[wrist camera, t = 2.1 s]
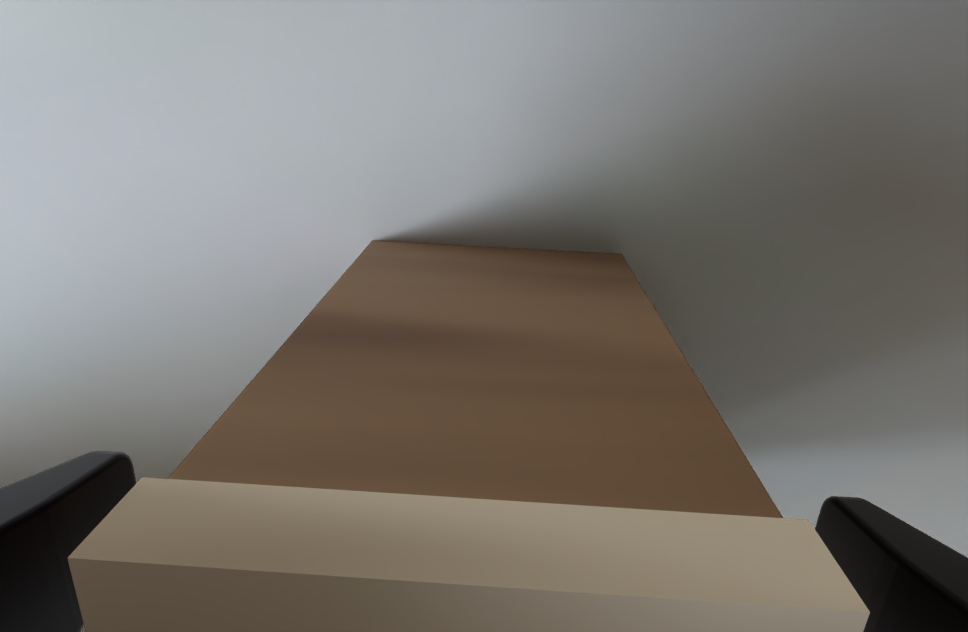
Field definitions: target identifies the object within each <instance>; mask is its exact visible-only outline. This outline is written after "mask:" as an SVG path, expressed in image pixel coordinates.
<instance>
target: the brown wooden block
mask: <svg viewBox="0 0 968 632" xmlns="http://www.w3.org/2000/svg"><path fill="white" fill-rule="evenodd" d="M68 562H69V566H70V570H71V574H72V578H73V583H74V587H75V591H76V595H77V599H78V603H79V607H80V611H81V615H82V619H83V623H84V627H85V631H86V632H863V631H864V628H865V625H866V622H867V620H868V617H869V614H870V611H869V610H868V608H867V607H866V605H865V604H864V602H863V601H862V599H861V598H860V596H859V595H858V593H857V592H856V590H855V589H854V587H853V586H852V584H851V583H850V581H849V580H848V578H847V577H846V575H845V574H844V572H843V571H842V569H841V568H840V566H839V565H838V563H837V562H836V560H835V559H834V557H833V556H832V554H831V553H830V551H829V550H828V548H827V547H826V545H825V544H824V542H823V541H822V539H821V538H820V536H819V535H818V533H817V532H816V530H815V529H814V527H813V526H812V524H811V523H810V521H809V520H803V519H787V518H783V517H782V515H781V514H780V512H779V510H778V509H777V507H776V506H775V504H774V502H773V501H772V499H771V497H770V496H769V494H768V492H767V491H766V489H765V488H764V486H763V484H762V483H761V481H760V479H759V478H758V476H757V475H756V473H755V471H754V470H753V468H752V466H751V465H750V463H749V461H748V460H747V458H746V457H745V455H744V453H743V452H742V450H741V448H740V447H739V445H738V443H737V442H736V440H735V439H734V437H733V435H732V434H731V432H730V430H729V429H728V427H727V425H726V424H725V422H724V421H723V419H722V417H721V416H720V414H719V412H718V411H717V409H716V408H715V406H714V404H713V403H712V401H711V399H710V398H709V396H708V394H707V393H706V391H705V390H704V388H703V386H702V385H701V383H700V381H699V380H698V378H697V376H696V375H695V373H694V372H693V370H692V368H691V367H690V365H689V363H688V362H687V360H686V358H685V357H684V355H683V354H682V352H681V350H680V349H679V347H678V345H677V344H676V342H675V341H674V339H673V337H672V336H671V334H670V332H669V331H668V329H667V327H666V326H665V324H664V323H663V321H662V319H661V318H660V316H659V314H658V313H657V311H656V309H655V308H654V306H653V305H652V303H651V301H650V300H649V298H648V296H647V295H646V293H645V291H644V290H643V288H642V287H641V285H640V283H639V282H638V280H637V278H636V277H635V275H634V274H633V272H632V270H631V269H630V267H629V265H628V264H627V262H626V260H625V259H624V257H623V256H622V254H610V253H592V252H573V251H555V250H536V249H518V248H499V247H481V246H462V245H444V244H425V243H407V242H388V241H372V242H371V243H370V244H369V245H368V246H367V247H366V249H365V250H364V251H363V252H362V253H361V254H360V256H359V257H358V258H357V259H356V260H355V261H354V263H353V264H352V265H351V266H350V267H349V268H348V269H347V271H346V272H345V273H344V274H343V275H342V276H341V278H340V279H339V280H338V281H337V282H336V283H335V285H334V286H333V287H332V288H331V289H330V290H329V292H328V293H327V294H326V295H325V296H324V297H323V299H322V300H321V301H320V302H319V303H318V304H317V306H316V307H315V308H314V309H313V310H312V311H311V312H310V314H309V315H308V316H307V317H306V318H305V319H304V321H303V322H302V323H301V324H300V325H299V326H298V328H297V329H296V330H295V331H294V332H293V333H292V335H291V336H290V337H289V338H288V339H287V340H286V342H285V343H284V344H283V345H282V346H281V347H280V349H279V350H278V351H277V352H276V353H275V354H274V356H273V357H272V358H271V359H270V360H269V361H268V362H267V364H266V365H265V366H264V367H263V368H262V369H261V371H260V372H259V373H258V374H257V375H256V376H255V378H254V379H253V380H252V381H251V382H250V383H249V385H248V386H247V387H246V388H245V389H244V390H243V392H242V393H241V394H240V395H239V396H238V397H237V399H236V400H235V401H234V402H233V403H232V404H231V406H230V407H229V408H228V409H227V410H226V411H225V412H224V414H223V415H222V416H221V417H220V418H219V419H218V421H217V422H216V423H215V424H214V425H213V426H212V428H211V429H210V430H209V431H208V432H207V433H206V435H205V436H204V437H203V438H202V439H201V440H200V442H199V443H198V444H197V445H196V446H195V447H194V449H193V450H192V451H191V452H190V453H189V454H188V456H187V457H186V458H185V459H184V460H183V461H182V462H181V464H180V465H179V466H178V467H177V468H176V469H175V471H174V472H173V473H172V474H171V475H170V476H169V478H168V479H163V478H148V477H142V478H141V479H140V480H139V481H138V482H137V483H136V484H135V486H134V487H133V488H132V489H131V490H130V491H129V492H128V493H127V494H126V495H125V496H124V497H123V498H122V500H121V501H120V502H119V503H118V504H117V505H116V506H115V507H114V508H113V509H112V510H111V511H110V512H109V514H108V515H107V516H106V517H105V518H104V519H103V520H102V521H101V522H100V523H99V524H98V525H97V527H96V528H95V529H94V530H93V531H92V532H91V533H90V534H89V535H88V536H87V537H86V538H85V539H84V541H83V542H82V543H81V544H80V545H79V546H78V547H77V548H76V549H75V550H74V551H73V552H72V554H71V555H70V556H69V557H68Z"/></svg>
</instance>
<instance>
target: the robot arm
mask: <svg viewBox="0 0 968 632" xmlns="http://www.w3.org/2000/svg"><path fill="white" fill-rule="evenodd" d="M135 484H136V480H135V474H134V469H133V464H132V461H131V459H130V457H129V456H128V455H126V454H125V453H121V452H106V451H94V452H90V453H88V454H85V455H83V456H80V457H78V458H75V459H73V460H70V461H68V462H65V463H63V464H60V465H58V466H55V467H53V468H50V469H48V470H45V471H43V472H41V473H38V474H36V475H33V476H31V477H28V478H26V479H23V480H21V481H18V482H16V483H13V484H11V485H8V486H6V487H3V488H1V489H0V632H80V630H81V628H82V626H83V625H84V623H83V619H82V615H81V611H80V607H79V603H78V599H77V595H76V591H75V587H74V583H73V578H72V574H71V570H70V566H69V562H68V557H69V556H70V555H71V554H72V552H73V551H74V550H75V549H76V548H77V547H78V546H79V545H80V544H81V543H82V542H83V541H84V539H85V538H86V537H87V536H88V535H89V534H90V533H91V532H92V531H93V530H94V529H95V528H96V527H97V525H98V524H99V523H100V522H101V521H102V520H103V519H104V518H105V517H106V516H107V515H108V514H109V512H110V511H111V510H112V509H113V508H114V507H115V506H116V505H117V504H118V503H119V502H120V501H121V500H122V498H123V497H124V496H125V495H126V494H127V493H128V492H129V491H130V490H131V489H132V488H133V487H134V486H135ZM815 530H816V532H817V533H818V535H819V536H820V538H821V539H822V541H823V542H824V544H825V545H826V547H827V548H828V550H829V551H830V553H831V554H832V556H833V557H834V559H835V560H836V562H837V563H838V565H839V566H840V568H841V569H842V571H843V572H844V574H845V575H846V577H847V578H848V580H849V581H850V583H851V584H852V586H853V587H854V589H855V590H856V592H857V593H858V595H859V596H860V598H861V599H862V601H863V602H864V604H865V605H866V607H867V608H868V610H869V611H870V614H869V617H868V620H867V622H866V625H865V628H864V631H863V632H968V558H967V557H965V556H964V555H962V554H960V553H958V552H957V551H955V550H953V549H951V548H949V547H948V546H946V545H944V544H942V543H941V542H939V541H937V540H935V539H934V538H932V537H930V536H928V535H927V534H925V533H923V532H921V531H920V530H918V529H916V528H914V527H912V526H911V525H909V524H907V523H905V522H904V521H902V520H900V519H898V518H897V517H895V516H893V515H891V514H890V513H888V512H886V511H884V510H883V509H881V508H879V507H877V506H875V505H874V504H872V503H870V502H868V501H867V500H865V499H861V498H855V497H838V496H831V497H829V498H827V499H826V500H825V501H824V502H823V504H822V507H821V510H820V513H819V517H818V520H817V524H816V527H815Z"/></svg>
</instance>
